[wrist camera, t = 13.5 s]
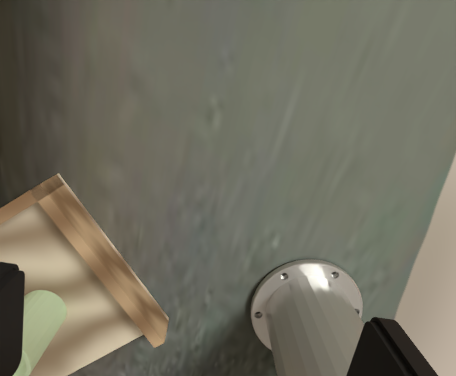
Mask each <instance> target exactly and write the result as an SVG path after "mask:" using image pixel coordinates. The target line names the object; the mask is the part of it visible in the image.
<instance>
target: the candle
mask: <svg viewBox="0 0 456 376" xmlns="http://www.w3.org/2000/svg"><path fill="white" fill-rule="evenodd" d="M66 315H67V308H66V305H65V303H64V302H63V300H62V299H61V298H60V297H59V296H58V295H56V294H55V293H53V292H50V291H47V290H35V291H32V292H30V293H28V294H27V295H25V296H24V316H23V343H22V358H21V362H20V365H19V367H18V369H17V370H16V372H15V374H14V375H13V376H29V375H30V373H31V372H32V370H33V369H34V367H35V366H36V364H37V362H38V361H39V359H40V358H41V356H42V354H43V353H44V351H45V350H46V348H47V347H48V345H49V343H50V342H51V340H52V339H53V337H54V336H55V334H56V332H57V331H58V329H59V328H60V326H61V325H62V323H63V321H64V320H65V318H66Z"/></svg>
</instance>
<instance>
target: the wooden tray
mask: <svg viewBox="0 0 456 376" xmlns="http://www.w3.org/2000/svg"><path fill="white" fill-rule="evenodd" d="M0 262H5V263H12V264H17V265H18V267H19V270H20V271H23V272H24V273H25V289H24V296H25V295H27V294H28V293H30V292H32V291H35V290H47V291H50V292H53V293H55V294H56V295H58V296H59V297H60V298H61V299H62V300H63V302H64V303H65V305H66V308H67V315H66V318H65V320H64V321H63V323H62V325H61V326H60V328H59V329H58V331H57V332H56V334H55V336H54V337H53V339H52V340H51V342H50V343H49V345H48V347H47V348H46V350H45V351H44V353H43V354H42V356H41V358H40V359H39V361H38V362H37V364H36V366H35V367H34V369H33V370H32V372H31V373H30V375H29V376H67V375H69V374H71V373H73V372H75V371H77V370H78V369H80V368H82V367H84V366H86V365H88V364H90V363H91V362H93V361H95V360H97V359H99V358H101V357H103V356H104V355H106V354H108V353H110V352H112V351H114V350H116V349H117V348H119V347H121V346H123V345H125V344H127V343H129V342H130V341H132V340H134V339H136V338H138V337H140V336H142V335H143V334H144V335H145V336H146V338H147V339H148V340H149V341H150V343H151V344H152V345H153V346H154V348H155V347H157V346H159V345H161V344H163V343H164V342H165V336H166V331H167V326H168V321H169V317H168V316H167V315H166V314H165V312H164V311H163V310H162V308H161V307H160V306H159V304H158V303H157V302H156V300H155V299H154V298H153V296H152V295H151V294H150V292H149V291H148V290H147V289H146V287H145V286H144V285H143V283H142V282H141V281H140V279H139V278H138V277H137V275H136V274H135V273H134V271H133V270H132V269H131V268H130V266H129V265H128V264H127V262H126V261H125V260H124V258H123V257H122V256H121V254H120V253H119V252H118V250H117V249H116V248H115V247H114V245H113V244H112V243H111V241H110V240H109V239H108V237H107V236H106V235H105V233H104V232H103V231H102V229H101V228H100V227H99V226H98V224H97V223H96V222H95V220H94V219H93V218H92V216H91V215H90V214H89V212H88V211H87V210H86V208H85V207H84V206H83V205H82V203H81V202H80V201H79V199H78V198H77V197H76V195H75V194H74V193H73V191H72V190H71V189H70V187H69V186H68V185H67V183H66V182H65V181H64V180H63V178H62V177H61V176H60V174H59V173H58V174H56V175H55V176H53V177H51V178H49V179H48V180H46V181H44V182H42V183H41V184H39V185H37V186H36V187H34V188H33V189H31V190H29V191H28V192H26V193H25V194H23V195H21V196H20V197H18V198H17V199H15V200H13V201H12V202H10V203H8V204H7V205H5V206H4V207H2V208H0Z"/></svg>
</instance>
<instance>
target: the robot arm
mask: <svg viewBox="0 0 456 376" xmlns="http://www.w3.org/2000/svg"><path fill="white" fill-rule="evenodd" d="M282 273H284V274H282ZM24 289H25V273H24V272H23V271H20V270H19V267H18V265H17V264H12V263H5V262H0V376H13V375H14V374H15V372H16V370H17V369H18V367H19V365H20V362H21V358H22V343H23V316H24ZM362 310H363V303H362V296H361V294H360V291H359V289H358V287H357V285H356V284H355V282H354V281H353V279H352V278H351V277H350V276H349V275H348V273H347V272H345V271H344V270H343V269H341V268H340V267H339V266H336V265H334V264H332V263H330V262H326V261H322V260H315V259H305V260H297V261H293V262H290V263H287V264H285V265H283V266H281V267H278V268H277V269H275V270H274V271H272V272H271V273H270V274H268V275H267V276H266V277H265V278H264V279H263V281H262V282H261V283H260V284H259V286H258V287H257V289H256V291H255V293H254V296H253V298H252V303H251V320H252V325H253V328H254V331H255V333H256V335H257V337H258V338H259V339H260V341H261V342H262V343H263V344H264V345H265V346H266V347H267V348H268V349H270V350H272V353H273V358H274V362H275V367H276V372H277V376H438V375H437V374H436V372H435V371H434V370H433V368H432V367H431V366H430V365H429V363H428V362H427V361H426V359H425V358H424V356H423V355H422V354H421V353H420V351H419V350H418V349H417V347H416V346H415V345H414V343H413V342H412V341H411V340H410V338H409V337H408V336H407V334H406V333H405V332H404V330H403V329H402V328H401V326H400V325H399V324H398V323H397V322H396V321H395V320H391V319H384V318H377V317H374V318H372V319H371V320H370V322H366V323H365V324H364V323H363V322H362V320H361V317H362Z"/></svg>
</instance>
